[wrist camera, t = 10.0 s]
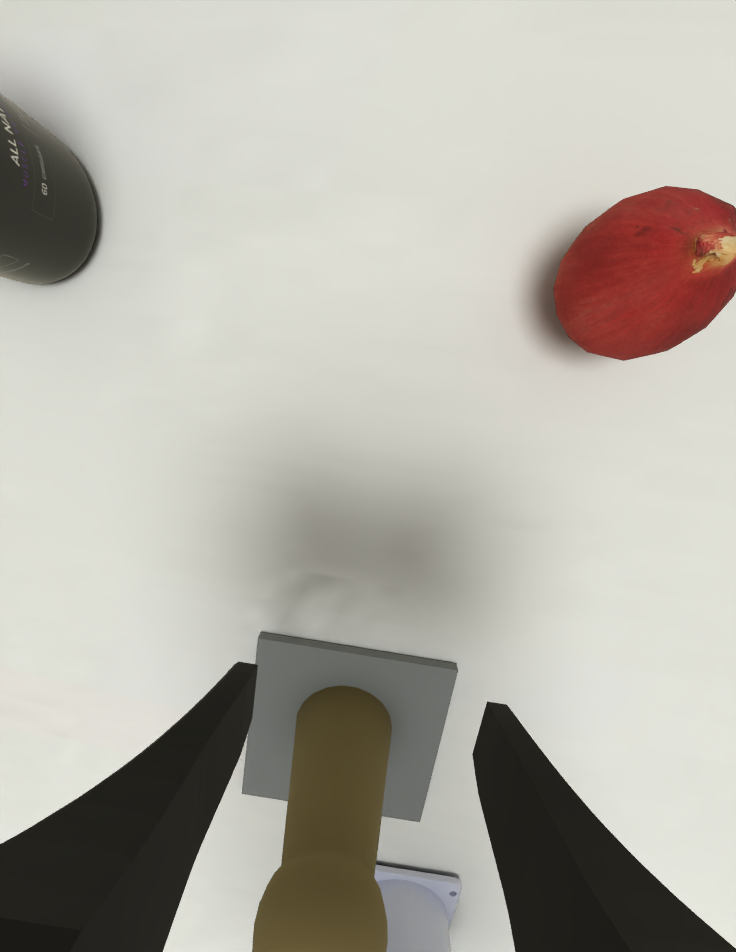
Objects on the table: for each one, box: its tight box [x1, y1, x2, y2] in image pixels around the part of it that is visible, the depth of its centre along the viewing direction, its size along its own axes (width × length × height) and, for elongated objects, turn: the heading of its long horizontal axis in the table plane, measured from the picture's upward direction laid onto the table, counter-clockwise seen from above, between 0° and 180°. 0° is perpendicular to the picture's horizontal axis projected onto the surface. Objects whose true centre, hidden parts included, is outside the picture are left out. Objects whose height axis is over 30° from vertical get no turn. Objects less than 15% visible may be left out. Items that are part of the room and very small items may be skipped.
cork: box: [252, 685, 392, 952], centre depth 19 cm, size 6×6×11 cm
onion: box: [554, 186, 736, 361], centre depth 15 cm, size 6×6×8 cm
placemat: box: [242, 632, 458, 822], centre depth 24 cm, size 12×12×1 cm
